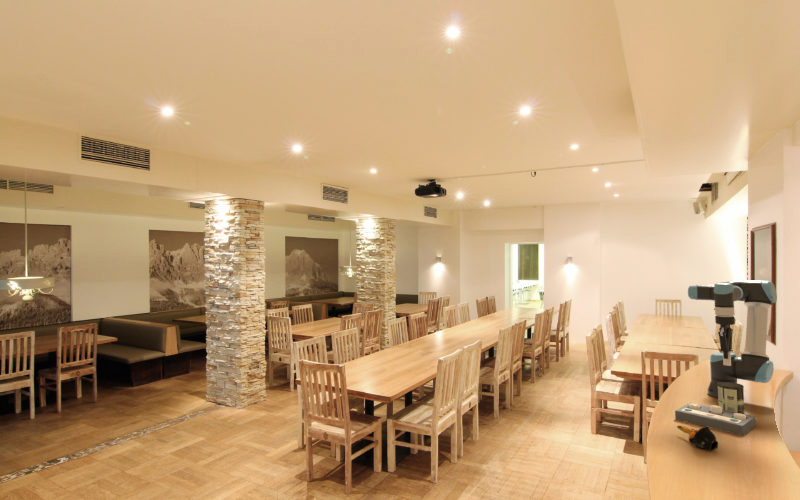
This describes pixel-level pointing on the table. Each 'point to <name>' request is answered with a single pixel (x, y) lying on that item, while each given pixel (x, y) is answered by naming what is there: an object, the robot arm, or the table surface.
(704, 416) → the button board
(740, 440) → the table surface
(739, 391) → the coffee can
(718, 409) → the middle button
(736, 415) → the end button
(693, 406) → the end button
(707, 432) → the black bulb with handle
